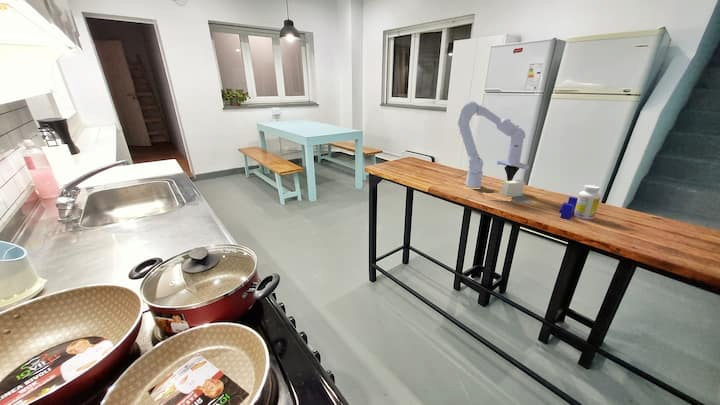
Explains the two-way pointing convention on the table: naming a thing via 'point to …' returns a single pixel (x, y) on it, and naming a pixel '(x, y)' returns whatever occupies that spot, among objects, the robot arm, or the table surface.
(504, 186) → the card box
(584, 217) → the supplement bottle
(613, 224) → the table surface
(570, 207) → the blue l-shaped block
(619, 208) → the table surface
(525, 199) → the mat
